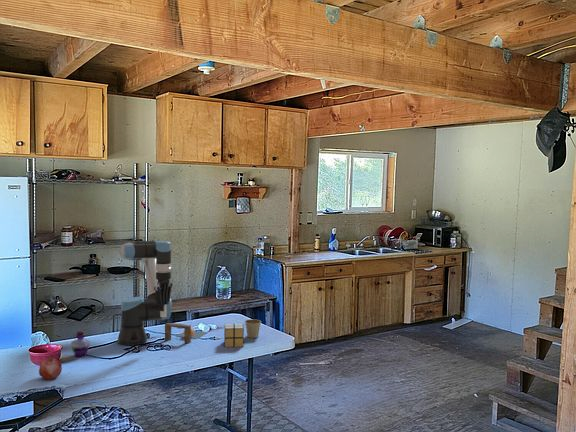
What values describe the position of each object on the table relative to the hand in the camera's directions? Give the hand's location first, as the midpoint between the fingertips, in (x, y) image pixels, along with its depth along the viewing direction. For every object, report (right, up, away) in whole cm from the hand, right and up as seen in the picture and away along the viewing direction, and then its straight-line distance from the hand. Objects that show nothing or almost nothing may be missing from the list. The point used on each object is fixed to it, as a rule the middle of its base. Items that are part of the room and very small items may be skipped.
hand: (163, 316), depth 262 cm
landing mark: (+10, -15, +26) cm, 32 cm away
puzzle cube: (+35, -17, +9) cm, 40 cm away
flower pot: (+44, -16, +24) cm, 53 cm away
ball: (+9, -13, +21) cm, 26 cm away
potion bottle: (-38, -17, -12) cm, 43 cm away
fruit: (-39, -18, -42) cm, 60 cm away
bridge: (+5, -16, +13) cm, 21 cm away
